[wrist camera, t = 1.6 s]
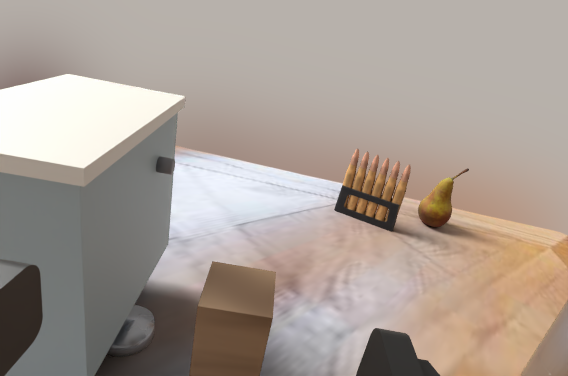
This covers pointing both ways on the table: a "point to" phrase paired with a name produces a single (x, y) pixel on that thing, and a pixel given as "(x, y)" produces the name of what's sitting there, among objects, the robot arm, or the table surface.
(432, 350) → the table surface
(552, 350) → the robot arm
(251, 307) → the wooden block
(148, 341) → the steel puck
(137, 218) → the cabinet
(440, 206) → the fruit
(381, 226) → the ammunition clip
